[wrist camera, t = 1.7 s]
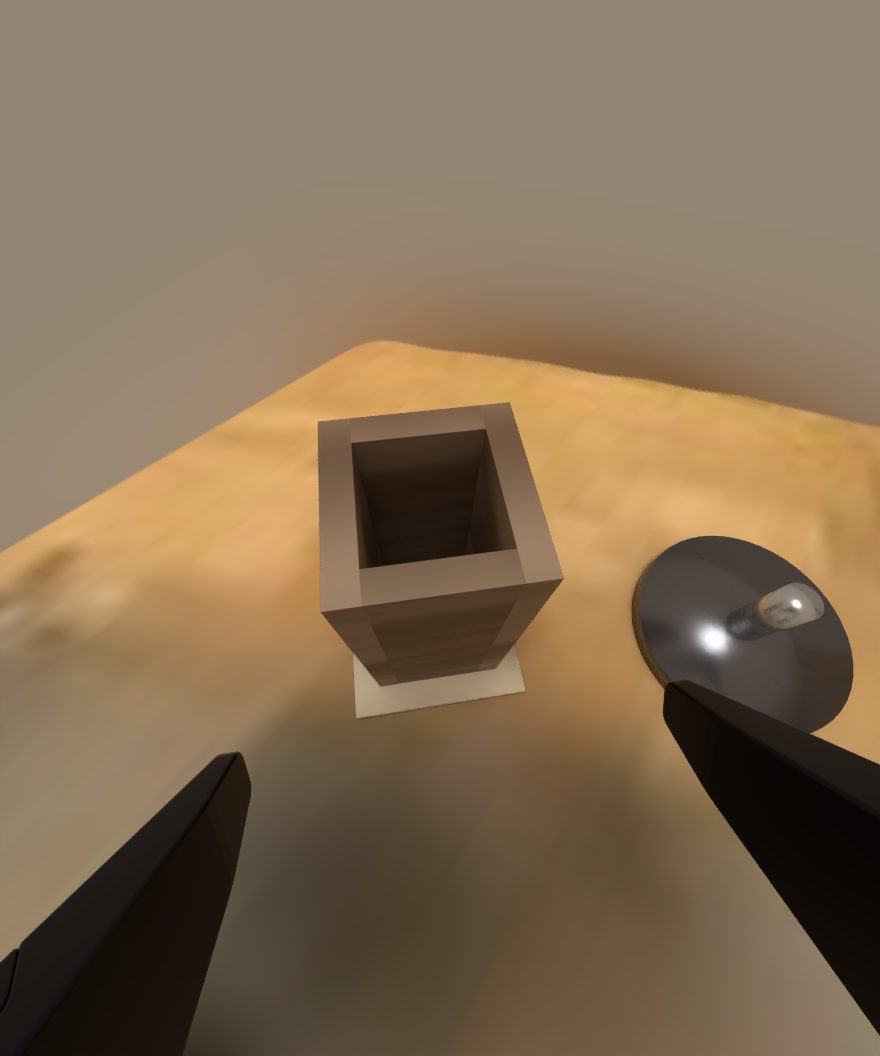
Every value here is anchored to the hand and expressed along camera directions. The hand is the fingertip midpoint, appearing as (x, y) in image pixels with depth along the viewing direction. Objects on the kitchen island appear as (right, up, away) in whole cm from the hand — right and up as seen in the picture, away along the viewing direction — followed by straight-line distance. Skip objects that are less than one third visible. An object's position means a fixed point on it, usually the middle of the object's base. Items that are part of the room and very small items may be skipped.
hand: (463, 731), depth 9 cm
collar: (-1, 0, +13) cm, 13 cm away
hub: (+15, -1, +13) cm, 20 cm away
